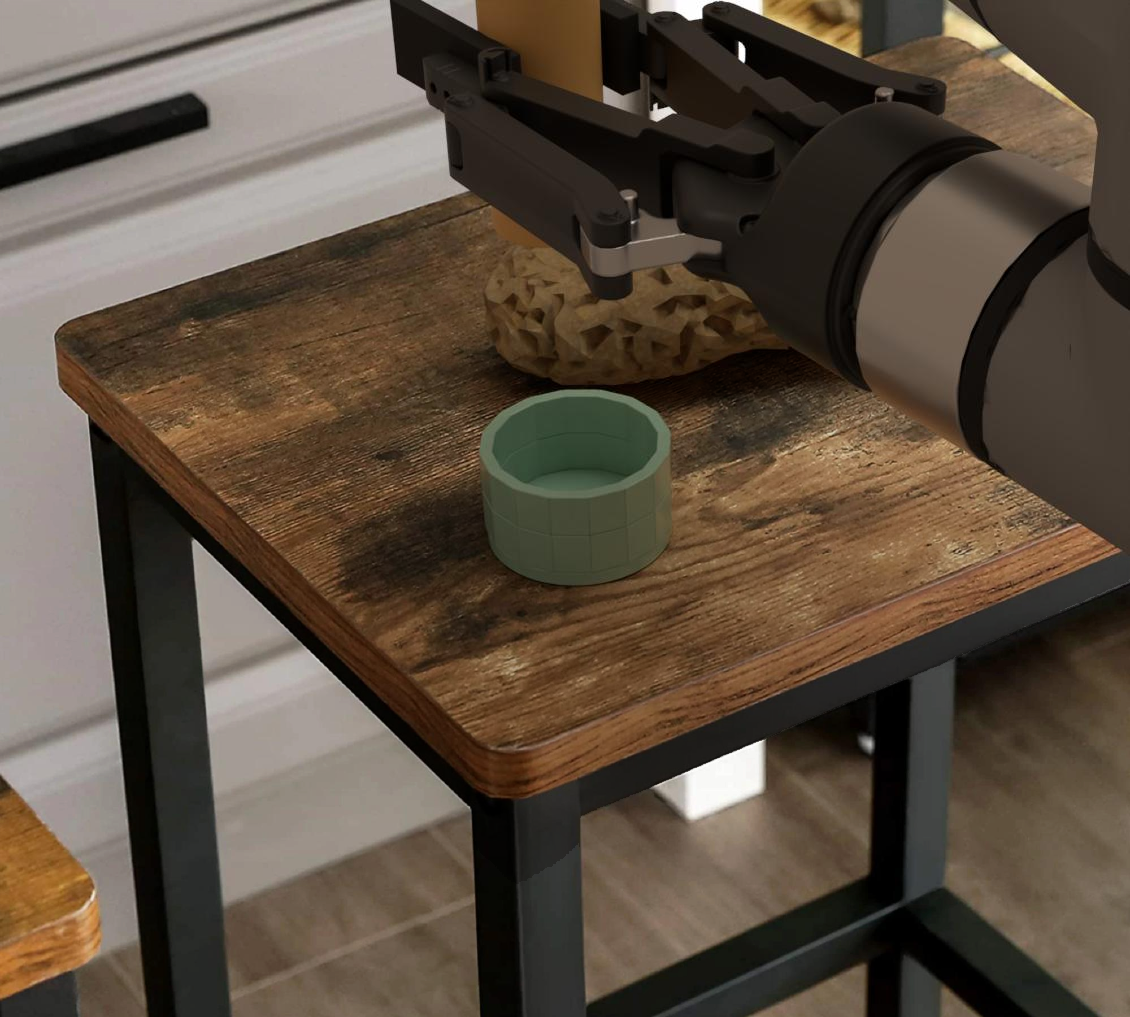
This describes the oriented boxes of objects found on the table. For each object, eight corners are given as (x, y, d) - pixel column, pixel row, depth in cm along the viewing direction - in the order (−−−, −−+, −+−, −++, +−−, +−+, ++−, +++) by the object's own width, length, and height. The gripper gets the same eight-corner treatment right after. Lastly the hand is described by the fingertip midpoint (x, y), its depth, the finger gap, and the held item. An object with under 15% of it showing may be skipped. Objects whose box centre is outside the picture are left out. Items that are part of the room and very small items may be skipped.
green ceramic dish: (702, 499, 83) (701, 412, 80) (623, 605, 78) (619, 515, 75) (539, 458, 85) (534, 373, 83) (454, 558, 80) (445, 471, 78)
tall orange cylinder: (580, 256, 72) (566, -28, 66) (472, 237, 74) (449, -44, 68) (625, 202, 75) (616, -75, 69) (521, 185, 76) (503, -89, 71)
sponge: (940, 279, 97) (503, 201, 97) (989, 143, 91) (525, 58, 91) (942, 491, 88) (462, 406, 88) (997, 355, 82) (483, 263, 82)
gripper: (699, 508, 57) (257, 190, 72) (1143, 290, 64) (658, 46, 80) (695, 258, 52) (226, -23, 68) (1173, 57, 60) (653, -154, 76)
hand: (461, 15), depth 74 cm, fingers closed on tall orange cylinder, 4 cm apart
